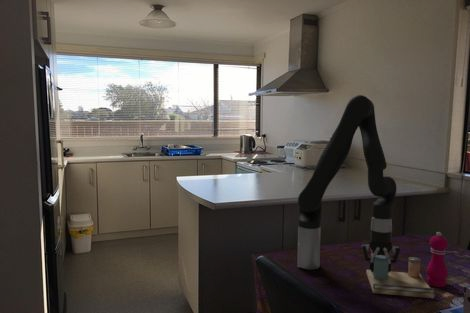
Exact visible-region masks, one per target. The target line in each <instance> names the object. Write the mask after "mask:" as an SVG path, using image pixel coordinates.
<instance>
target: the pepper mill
mask: <svg viewBox="0 0 470 313" xmlns="http://www.w3.org/2000/svg"><path fill="white" fill-rule="evenodd" d="M442 235H443V234H442V232H440V231H437V232H436V234H435V235H433V236H432V237H430V238H429V245H430V253H431V260H430V262H429V263H428V265H427V267H426V275H427V278H426V283H427V284H428V285H429V286H433V287H436V288H444V287H446V285H447V280H446V279H447V278H448V276H449V272H448V268H447V266H446V263H445V260H444V259H445V255H446V251H447V250H446V248H448V244H449V243H448V240H447V239H446V237H444V236H442Z"/></svg>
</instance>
